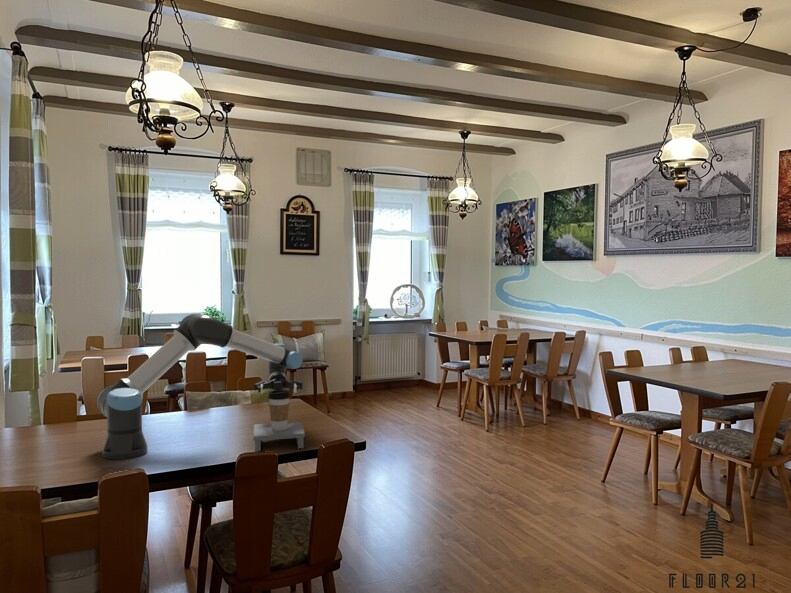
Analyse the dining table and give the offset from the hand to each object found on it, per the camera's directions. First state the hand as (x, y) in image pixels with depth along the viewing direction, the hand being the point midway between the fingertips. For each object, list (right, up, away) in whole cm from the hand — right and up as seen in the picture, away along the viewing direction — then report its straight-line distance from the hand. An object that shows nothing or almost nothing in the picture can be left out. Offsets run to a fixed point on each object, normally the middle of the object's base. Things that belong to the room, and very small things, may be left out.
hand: (278, 390), depth 236 cm
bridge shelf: (+2, -20, -9) cm, 22 cm away
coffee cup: (+2, -14, -9) cm, 17 cm away
